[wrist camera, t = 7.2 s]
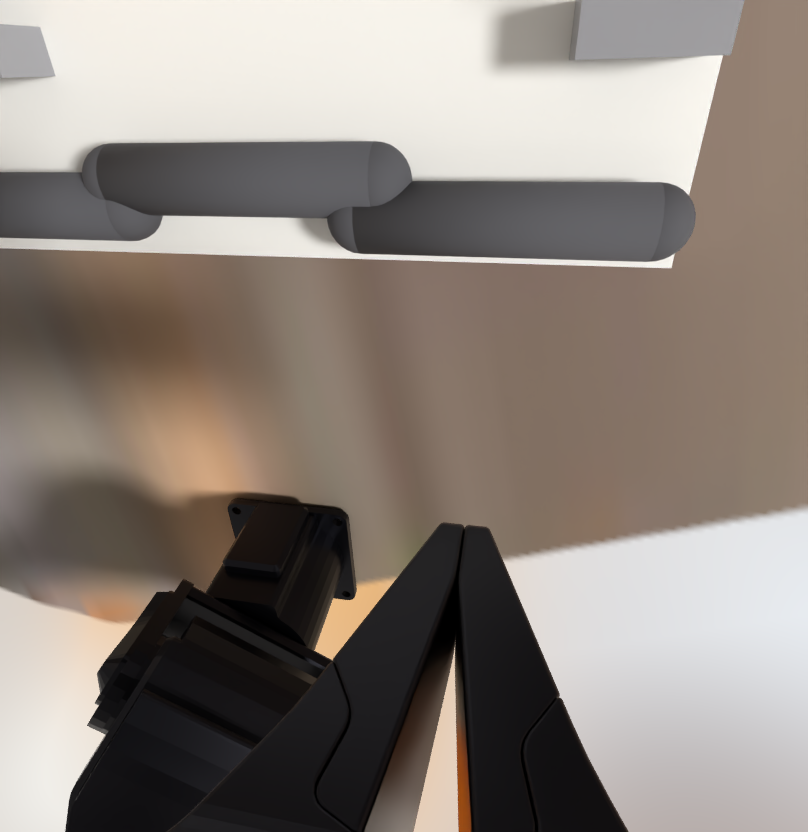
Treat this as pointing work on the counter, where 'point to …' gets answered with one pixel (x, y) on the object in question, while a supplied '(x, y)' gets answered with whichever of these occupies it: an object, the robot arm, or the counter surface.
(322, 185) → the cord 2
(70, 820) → the robot arm
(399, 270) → the counter surface
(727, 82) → the counter surface
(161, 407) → the counter surface
